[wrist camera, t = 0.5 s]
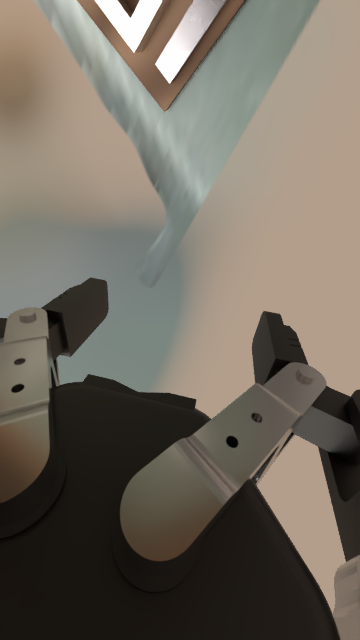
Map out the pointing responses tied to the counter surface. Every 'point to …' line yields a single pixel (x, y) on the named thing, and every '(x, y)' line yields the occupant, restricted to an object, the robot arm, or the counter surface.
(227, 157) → the counter surface
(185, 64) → the jig
